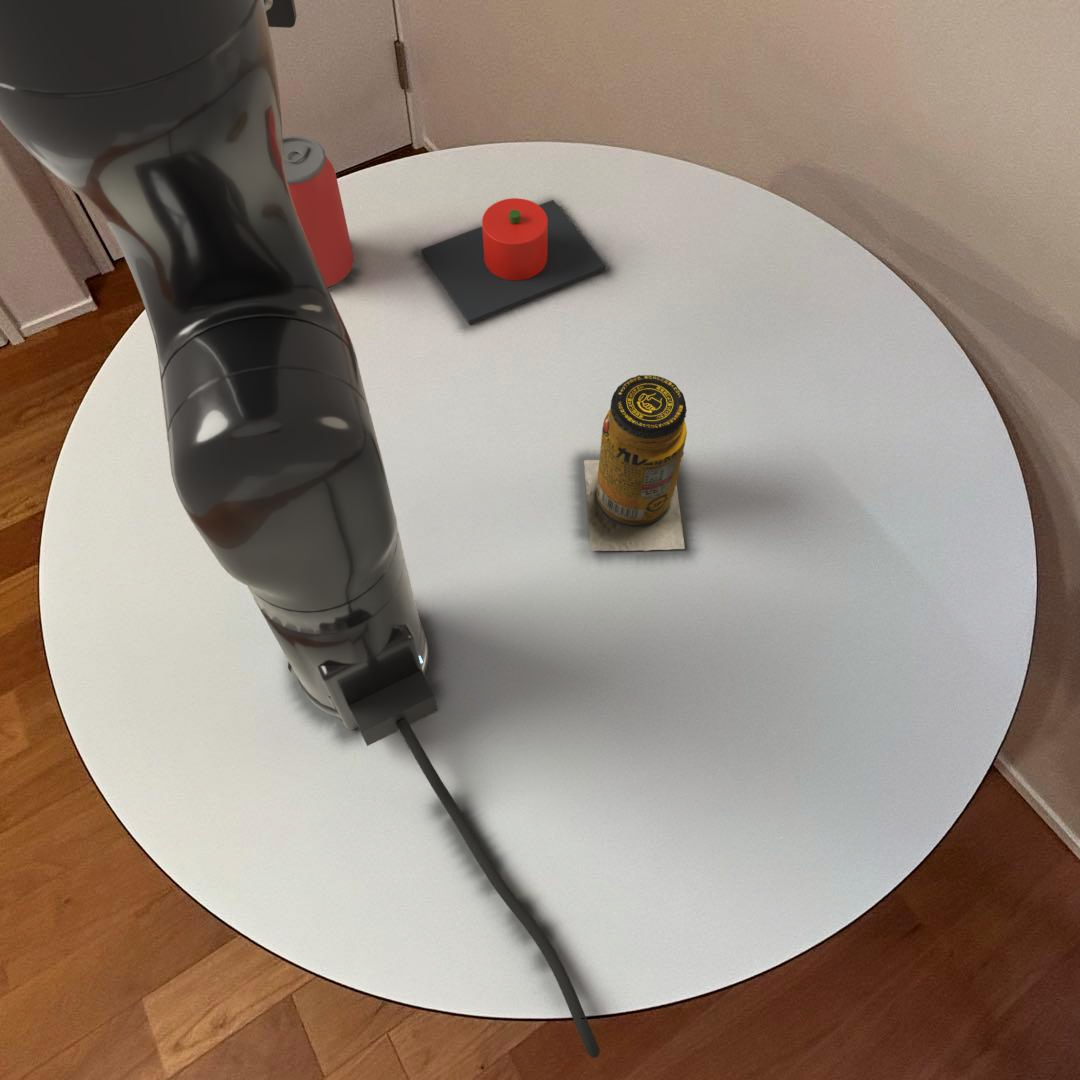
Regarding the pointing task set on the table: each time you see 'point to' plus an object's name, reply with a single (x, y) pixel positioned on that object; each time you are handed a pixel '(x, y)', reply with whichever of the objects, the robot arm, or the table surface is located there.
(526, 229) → the red cylinder
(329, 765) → the table surface
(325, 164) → the beer can
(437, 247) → the dark rectangular pad
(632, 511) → the condiment
